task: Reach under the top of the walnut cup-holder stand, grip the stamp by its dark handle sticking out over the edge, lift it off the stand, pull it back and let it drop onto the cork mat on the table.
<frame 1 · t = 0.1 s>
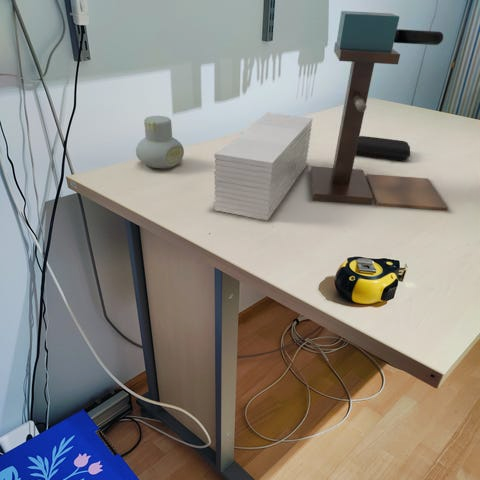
holder stand: (338, 187, 93), on the table
cork mat: (403, 192, 92), on the table
air freshener: (161, 165, 99), on the table
stack of papers: (265, 186, 92), on the table
stamp: (365, 47, 76), point 26 cm above the table, touching holder stand
carrying case: (379, 153, 112), on the table
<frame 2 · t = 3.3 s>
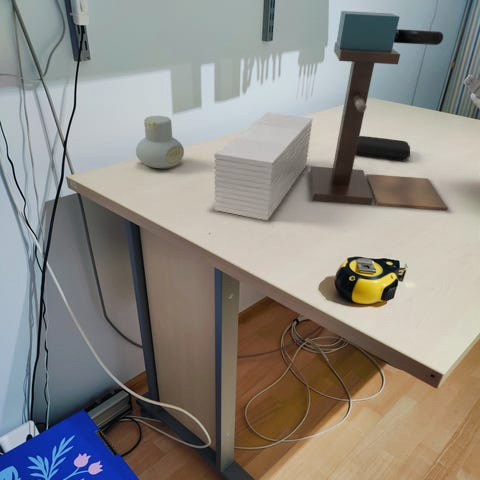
hand: (475, 83, 78), 21 cm above the table, tool pointing upward, fingers open, 8 cm apart
nothing on the table moved.
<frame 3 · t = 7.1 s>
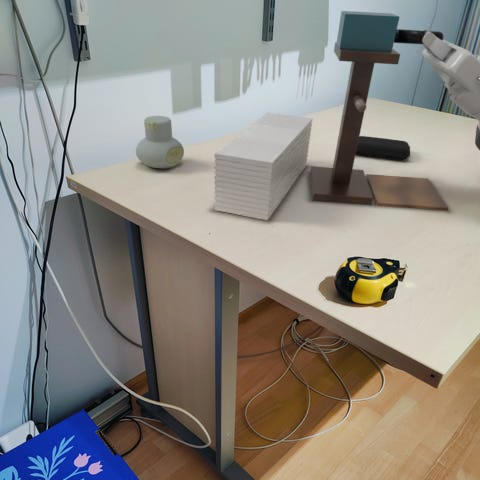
hand: (422, 34, 74), 28 cm above the table, tool pointing upward, fingers closed on stamp
stamp: (365, 47, 76), point 26 cm above the table, touching gripper, holder stand
everything else where it was.
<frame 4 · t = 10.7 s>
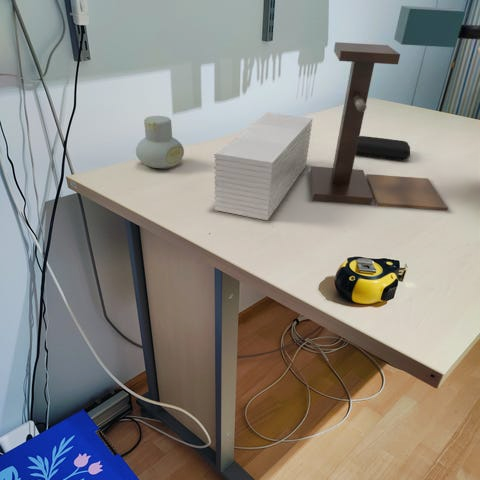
stamp: (426, 43, 75), point 27 cm above the table, touching gripper
everything else where it was.
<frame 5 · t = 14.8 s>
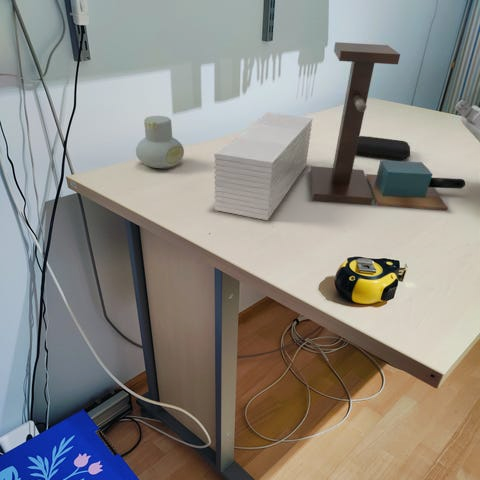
hand: (466, 109, 80), 17 cm above the table, tool pointing upward, fingers open, 7 cm apart
stamp: (401, 190, 91), point 1 cm above the table, touching cork mat
everything else where it was.
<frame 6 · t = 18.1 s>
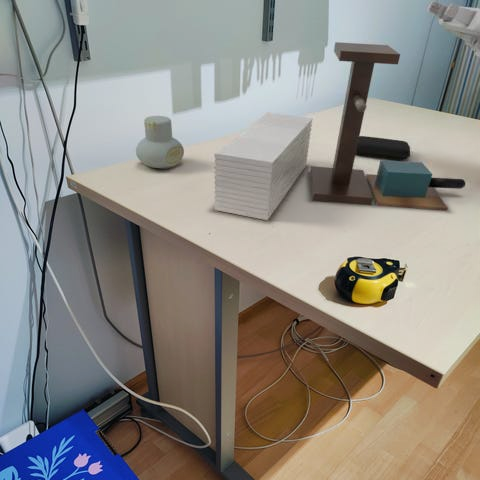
hand: (438, 7, 83), 32 cm above the table, tool pointing upward, fingers open, 8 cm apart
nothing on the table moved.
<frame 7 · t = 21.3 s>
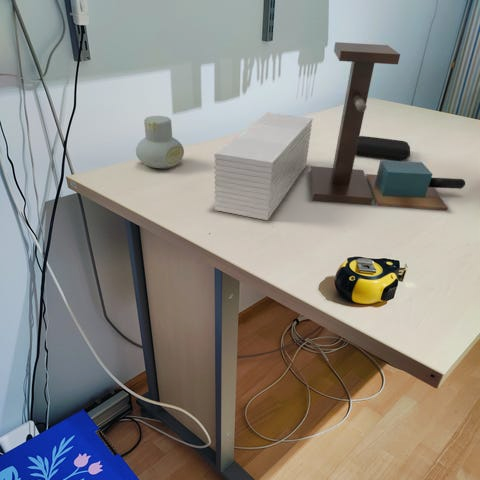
nothing on the table moved.
at the end: stamp inside the target area (0.5 cm from its centre), point 0.6 cm above the table; stamp moved 28.7 cm from its start; the gripper is holding nothing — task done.
